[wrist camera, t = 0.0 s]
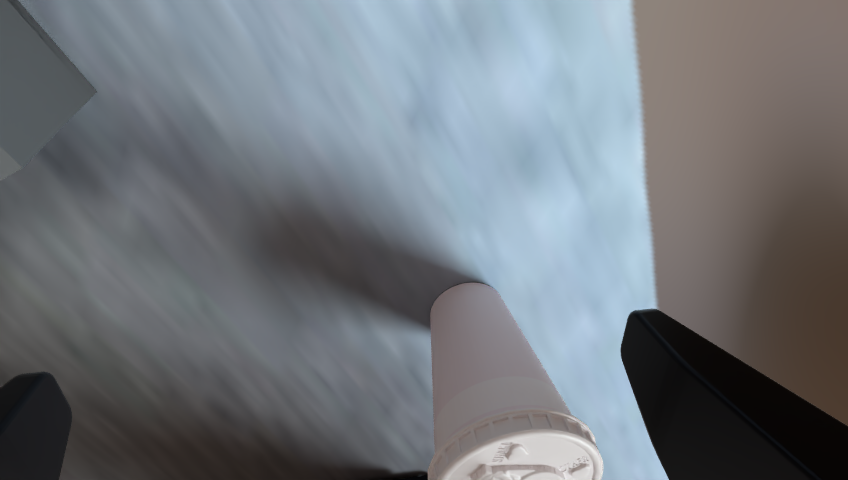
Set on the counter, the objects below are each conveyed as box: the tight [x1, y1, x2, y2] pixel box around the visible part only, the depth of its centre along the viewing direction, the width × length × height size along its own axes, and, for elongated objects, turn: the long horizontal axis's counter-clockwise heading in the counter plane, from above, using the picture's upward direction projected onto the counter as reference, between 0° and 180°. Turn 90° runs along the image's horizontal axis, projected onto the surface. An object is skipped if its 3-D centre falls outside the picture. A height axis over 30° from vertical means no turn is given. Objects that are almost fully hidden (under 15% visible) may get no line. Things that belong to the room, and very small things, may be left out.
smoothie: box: [428, 283, 603, 480], centre depth 23 cm, size 6×6×14 cm
